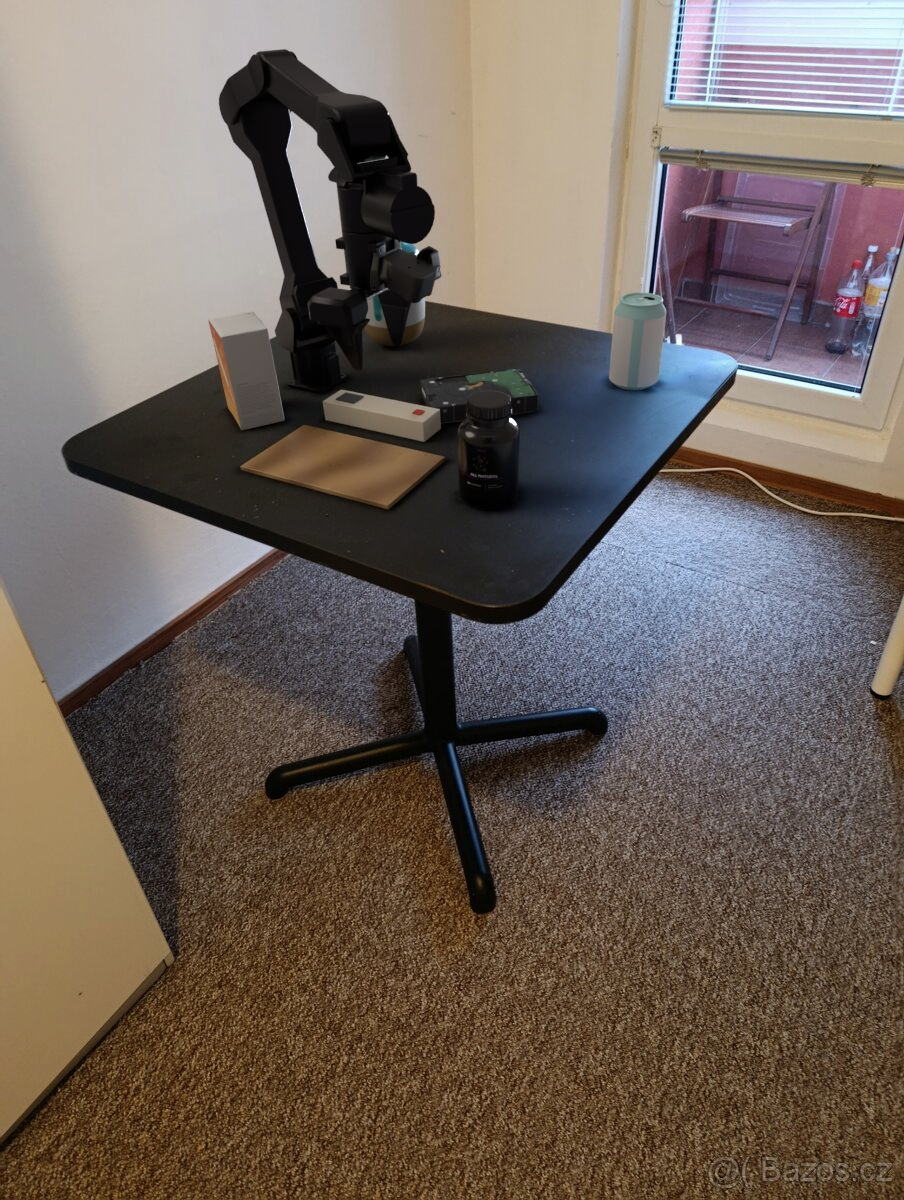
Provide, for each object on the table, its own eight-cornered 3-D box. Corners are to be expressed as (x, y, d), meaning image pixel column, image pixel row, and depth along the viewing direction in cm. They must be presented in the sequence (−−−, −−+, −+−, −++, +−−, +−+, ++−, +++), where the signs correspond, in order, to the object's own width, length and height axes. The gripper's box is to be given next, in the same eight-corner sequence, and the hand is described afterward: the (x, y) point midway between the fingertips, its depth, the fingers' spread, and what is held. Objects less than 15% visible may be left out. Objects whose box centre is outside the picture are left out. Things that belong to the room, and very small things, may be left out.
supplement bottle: (474, 517, 89) (471, 417, 82) (450, 490, 94) (445, 393, 87) (529, 503, 91) (531, 404, 84) (502, 477, 97) (502, 381, 89)
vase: (363, 334, 138) (350, 213, 126) (424, 329, 138) (417, 208, 127) (364, 357, 129) (350, 229, 118) (430, 352, 130) (422, 224, 118)
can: (611, 371, 121) (618, 289, 113) (659, 374, 119) (669, 291, 112) (605, 390, 115) (612, 305, 108) (656, 393, 114) (666, 307, 106)
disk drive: (434, 428, 108) (540, 412, 110) (432, 408, 107) (540, 393, 109) (420, 397, 116) (519, 383, 118) (418, 379, 115) (519, 365, 117)
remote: (325, 420, 111) (322, 399, 109) (343, 407, 114) (341, 387, 112) (424, 442, 105) (422, 420, 103) (441, 428, 108) (440, 407, 106)
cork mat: (240, 470, 101) (239, 466, 100) (304, 428, 109) (304, 424, 109) (388, 509, 92) (388, 505, 91) (445, 460, 100) (444, 456, 100)
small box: (227, 409, 115) (206, 318, 107) (270, 400, 117) (253, 310, 109) (240, 431, 110) (219, 336, 102) (285, 421, 111) (268, 327, 104)
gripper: (380, 255, 85) (392, 395, 94) (464, 215, 97) (467, 342, 107) (296, 245, 89) (315, 379, 99) (386, 208, 102) (396, 330, 112)
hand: (378, 357), depth 104 cm, fingers open, 9 cm apart
